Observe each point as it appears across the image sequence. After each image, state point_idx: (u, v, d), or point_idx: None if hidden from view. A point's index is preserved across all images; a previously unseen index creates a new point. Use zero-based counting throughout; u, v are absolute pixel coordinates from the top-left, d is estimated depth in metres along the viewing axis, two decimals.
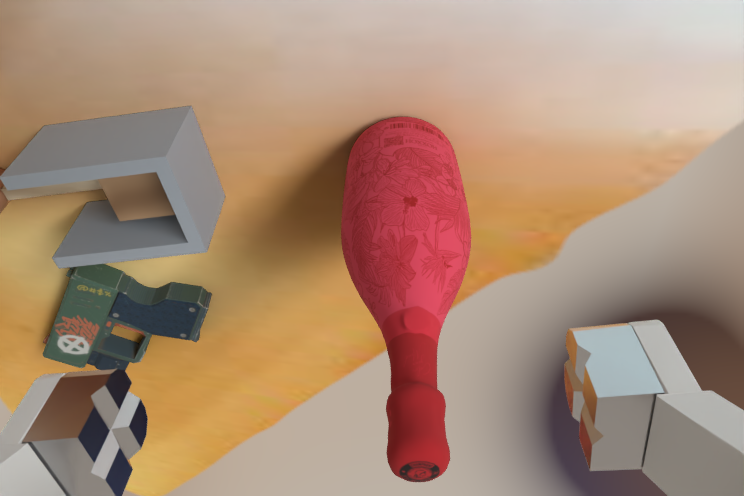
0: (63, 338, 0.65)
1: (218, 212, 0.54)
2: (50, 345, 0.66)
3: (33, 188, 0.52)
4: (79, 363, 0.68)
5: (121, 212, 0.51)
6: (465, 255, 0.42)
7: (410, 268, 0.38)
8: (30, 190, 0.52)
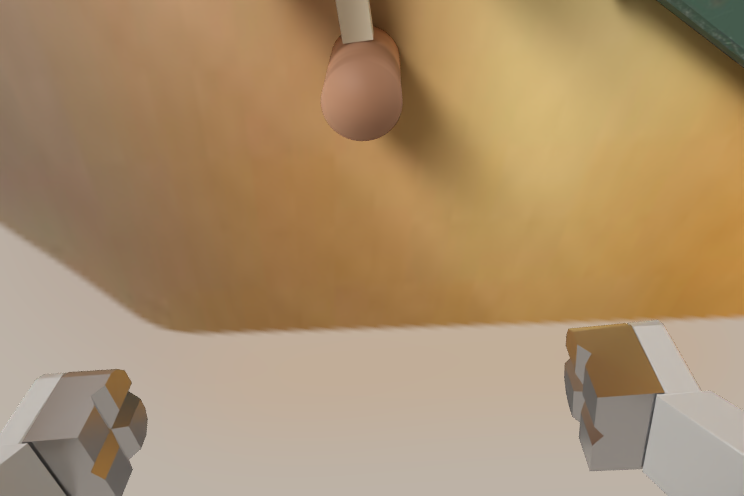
0: None
1: None
2: None
3: None
4: None
5: None
6: None
7: None
8: None
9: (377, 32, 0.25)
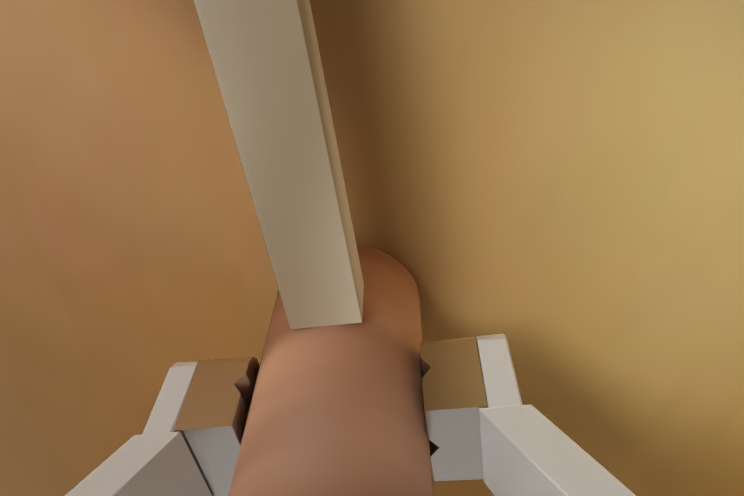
0: None
1: None
2: None
3: (267, 172, 0.08)
4: None
5: None
6: None
7: None
8: (286, 195, 0.08)
9: (373, 270, 0.11)
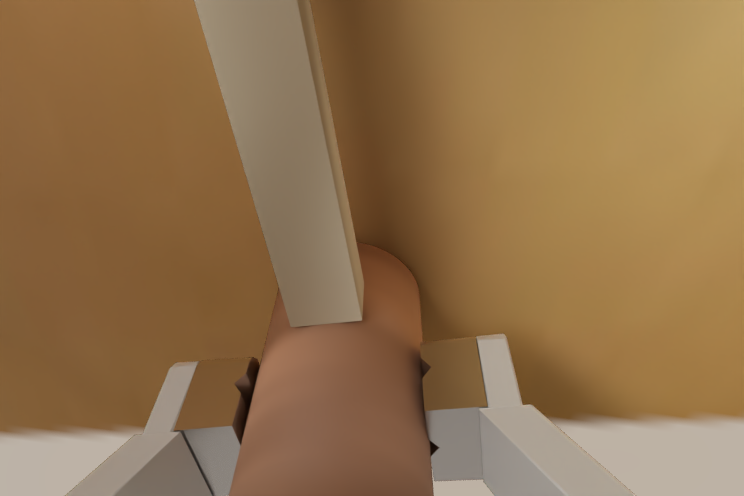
0: None
1: None
2: None
3: (267, 170, 0.08)
4: None
5: None
6: None
7: None
8: (287, 194, 0.08)
9: (373, 268, 0.11)
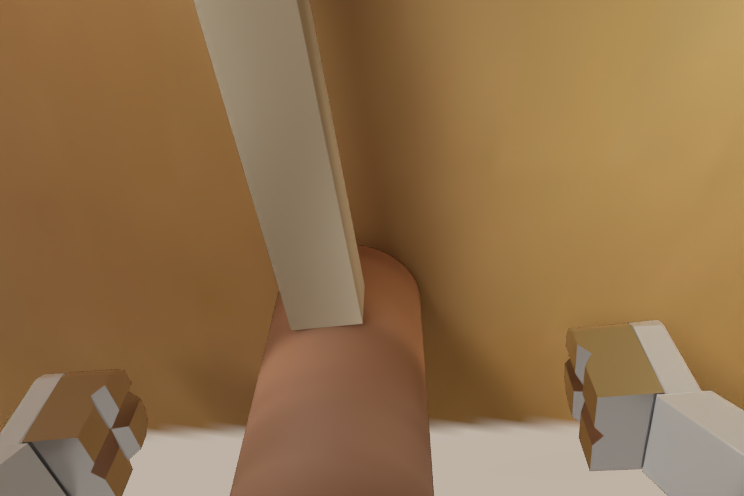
0: None
1: None
2: None
3: (268, 174, 0.08)
4: None
5: None
6: None
7: None
8: (287, 197, 0.08)
9: (373, 271, 0.11)
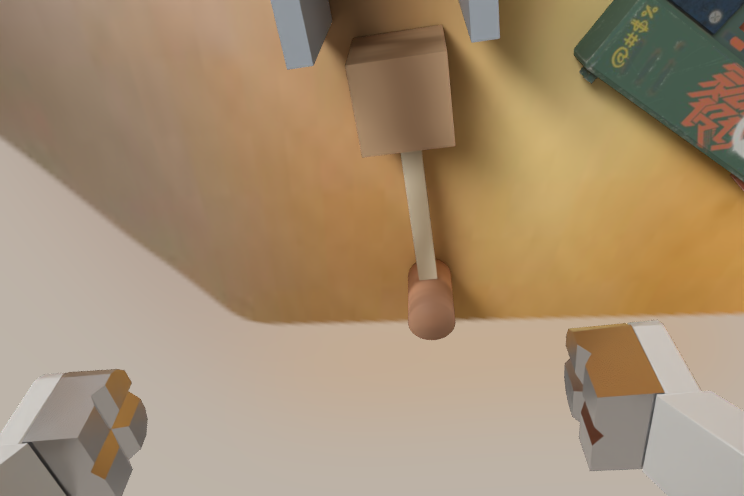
0: (739, 144, 0.33)
1: None
2: None
3: (418, 244, 0.38)
4: None
5: (437, 138, 0.31)
6: None
7: None
8: (422, 248, 0.38)
9: (438, 266, 0.41)
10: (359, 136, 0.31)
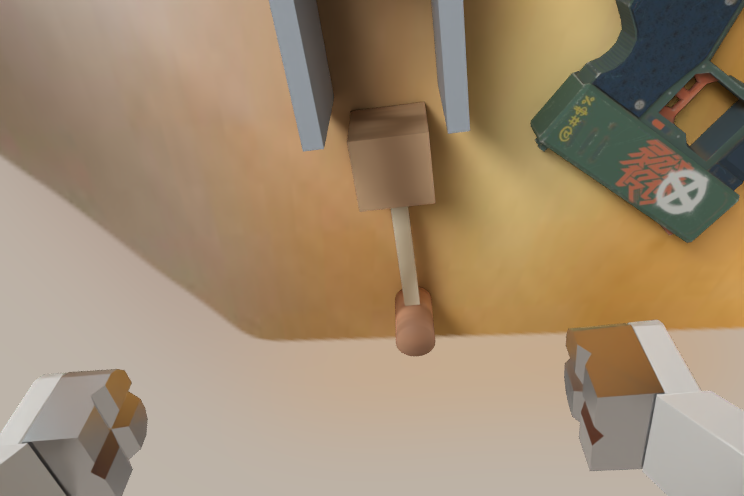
0: (662, 200, 0.41)
1: None
2: (670, 224, 0.42)
3: (404, 276, 0.45)
4: (726, 199, 0.41)
5: (421, 197, 0.39)
6: None
7: None
8: (407, 280, 0.46)
9: (420, 292, 0.48)
10: (357, 195, 0.39)
